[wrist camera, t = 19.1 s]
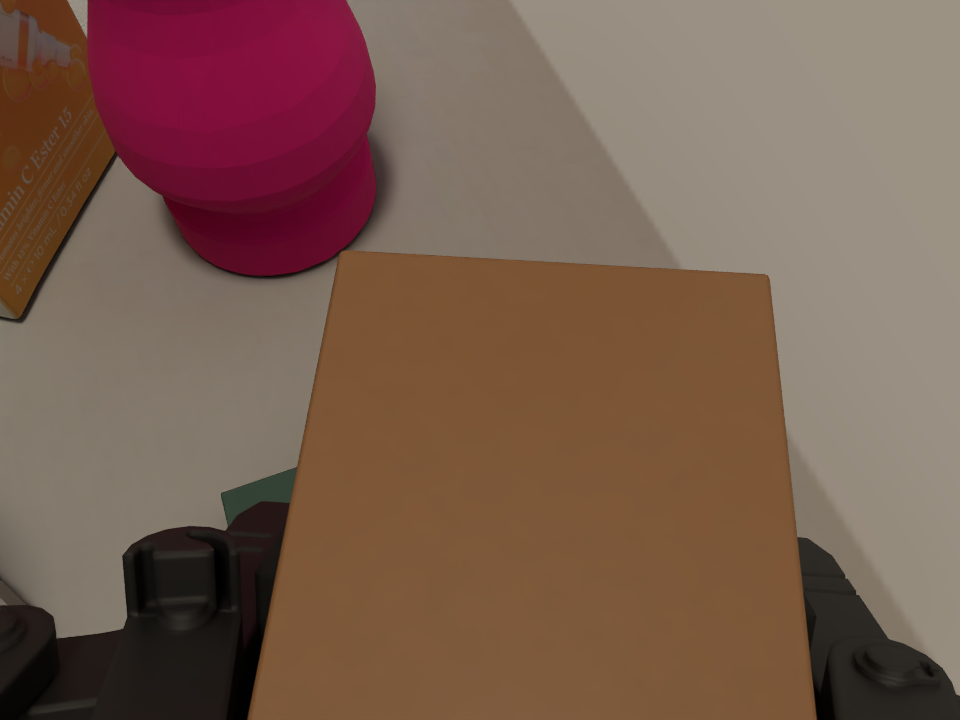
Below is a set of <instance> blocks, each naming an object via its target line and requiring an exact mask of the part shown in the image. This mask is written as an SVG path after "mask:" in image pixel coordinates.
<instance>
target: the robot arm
mask: <svg viewBox="0 0 960 720" xmlns="http://www.w3.org/2000/svg"><path fill="white" fill-rule="evenodd" d="M289 506H290V503H283V502H269V501H260V502H258V503H257V504H255V505H253V506H252V507H250V508H248V509H246V510H245V511H243V512H241V513H240V514H238V515H237V516H236V517H235V519H234V520H233V521H232V523H231V524H230V525H229V527H228V528H227V529H226V531H222V530H219V529H215V528H211V527H196V526H188V527H180V528H173V529H167V530H163V531H160V532H157V533H154V534H151V535H148V536H146V537H144V538H142V539H141V540H139V541H137V542H135V543H134V544H132V545H131V546H130V547H129V548H128V550H127V551H126V552H125V553H124V554H123V556H122V558H123V570H124V582H125V594H126V605H127V620H126V623H125V626H124V628H123V629H121V630H117V631H111V632H106V633H100V634H92V635H84V636H75V637H67V638H58V639H56V630H55V623H54V618H53V616H52V615H51V614H49V613H48V612H46V611H45V610H44V609H42V608H38V607H33V606H28V605H0V720H247V718H248V713H249V708H250V703H251V698H252V693H253V688H254V683H255V677H256V672H257V667H258V662H259V657H260V652H261V647H262V642H263V637H264V632H265V627H266V622H267V617H268V612H269V607H270V602H271V597H272V591H273V586H274V581H275V576H276V571H277V566H278V561H279V556H280V551H281V546H282V541H283V536H284V531H285V526H286V521H287V516H288V511H289ZM797 539H798V549H799V558H800V567H801V576H802V586H803V595H804V604H805V614H806V623H807V632H808V642H809V651H810V660H811V670H812V679H813V688H814V698H815V707H816V716H817V720H960V696H959V695H956V693H955V690H954V687H953V684H952V682H951V681H950V679H949V678H948V676H947V674H946V673H945V671H944V670H943V668H941V667H940V666H939V665H938V664H936V663H935V662H934V661H933V660H931V659H930V658H929V657H928V656H927V655H925V654H923V653H921V652H919V651H917V650H915V649H913V648H911V647H909V646H907V645H905V644H903V643H899V642H896V641H893V640H890V639H888V638H887V636H886V635H885V633H884V632H883V630H882V629H881V627H880V626H879V624H878V623H877V621H876V620H875V618H874V617H873V615H872V614H871V612H870V611H869V609H868V608H867V607H866V605H865V604H864V602H863V601H862V599H861V598H860V596H859V595H856V590H855V589H854V587H853V586H852V584H851V583H850V581H849V580H848V579H845V574H844V573H843V571H842V570H841V568H840V567H839V565H838V564H837V562H836V561H835V559H834V558H833V556H832V555H830V554H829V553H827V552H826V551H825V550H823V549H822V548H820V547H819V546H818V545H816V544H815V543H813V542H812V541H811V540H809V539H808V538H799V537H797Z"/></svg>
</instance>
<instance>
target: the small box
mask: <svg viewBox="0 0 960 720" xmlns="http://www.w3.org/2000/svg"><path fill="white" fill-rule="evenodd" d="M114 153H115V149H114V147H113V145H112V142H111V140H110V138H109V136H108V133H107V131H106V129H105V127H104V125H103V122H102V120H101V118H100V115H99V113H98V110H97V108H96V106H95V101H94V96H93V91H92V86H91V80H90V75H89V70H88V60H87V38H86V36H85V34H84V32H83V30H82V28H81V26H80V24H79V22H78V20H77V18H76V16H75V14H74V12H73V10H72V8H71V6H70V5H69V3H68V1H67V0H0V316H2V317H7V318H11V319H18V318H19V317H20V316H21V315H22V313H23V311H24V309H25V307H26V305H27V303H28V301H29V299H30V297H31V295H32V293H33V291H34V289H35V287H36V285H37V284H38V282H39V280H40V278H41V276H42V275H43V273H44V271H45V269H46V268H47V266H48V264H49V262H50V261H51V259H52V257H53V255H54V254H55V252H56V250H57V249H58V247H59V245H60V244H61V242H62V240H63V238H64V237H65V235H66V233H67V232H68V230H69V228H70V226H71V225H72V223H73V221H74V219H75V218H76V216H77V214H78V213H79V211H80V209H81V207H82V206H83V204H84V202H85V201H86V199H87V197H88V196H89V194H90V193H91V191H92V189H93V188H94V186H95V184H96V183H97V181H98V179H99V178H100V176H101V174H102V173H103V171H104V169H105V168H106V166H107V164H108V163H109V161H110V159H111V158H112V156H113V154H114Z"/></svg>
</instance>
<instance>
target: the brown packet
mask: <svg viewBox="0 0 960 720" xmlns="http://www.w3.org/2000/svg"><path fill="white" fill-rule="evenodd" d="M247 720H817V716H816V707H815V698H814V688H813V679H812V670H811V660H810V651H809V642H808V632H807V623H806V614H805V604H804V595H803V586H802V576H801V567H800V558H799V549H798V539H797V530H796V521H795V511H794V502H793V493H792V483H791V474H790V465H789V455H788V446H787V437H786V427H785V418H784V409H783V400H782V390H781V381H780V372H779V362H778V353H777V343H776V334H775V325H774V315H773V306H772V297H771V287H770V279H769V277H768V275H765V274H750V273H733V272H715V271H698V270H680V269H663V268H645V267H628V266H610V265H593V264H575V263H558V262H540V261H523V260H505V259H488V258H470V257H452V256H435V255H417V254H400V253H382V252H365V251H347V250H344V251H341V253H340V254H339V258H338V263H337V268H336V273H335V278H334V283H333V288H332V293H331V298H330V303H329V308H328V313H327V318H326V323H325V328H324V334H323V339H322V344H321V349H320V354H319V359H318V364H317V369H316V374H315V379H314V384H313V389H312V394H311V399H310V404H309V409H308V414H307V420H306V425H305V430H304V435H303V440H302V445H301V450H300V455H299V460H298V465H297V470H296V475H295V480H294V485H293V490H292V495H291V500H290V506H289V511H288V516H287V521H286V526H285V531H284V536H283V541H282V546H281V551H280V556H279V561H278V566H277V571H276V576H275V581H274V586H273V591H272V597H271V602H270V607H269V612H268V617H267V622H266V627H265V632H264V637H263V642H262V647H261V652H260V657H259V662H258V667H257V672H256V677H255V683H254V688H253V693H252V698H251V703H250V708H249V713H248V718H247Z"/></svg>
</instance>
